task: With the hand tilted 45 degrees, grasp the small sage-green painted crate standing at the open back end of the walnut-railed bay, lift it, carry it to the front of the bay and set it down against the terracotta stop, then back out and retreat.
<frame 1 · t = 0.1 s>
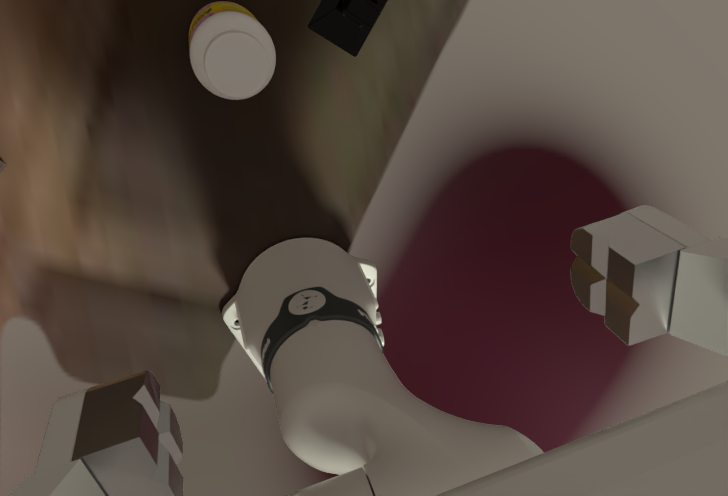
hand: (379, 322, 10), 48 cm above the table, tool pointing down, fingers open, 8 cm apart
supplement bottle: (225, 39, 52), on the table
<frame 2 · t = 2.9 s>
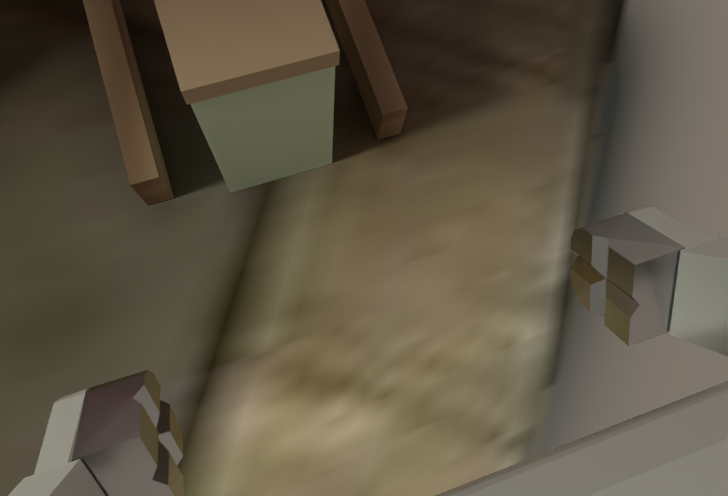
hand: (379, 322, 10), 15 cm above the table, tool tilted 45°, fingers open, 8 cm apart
crate: (266, 131, 27), on the table
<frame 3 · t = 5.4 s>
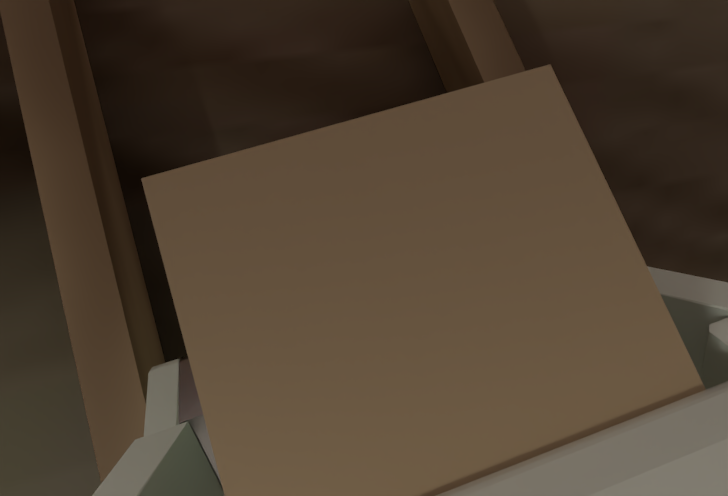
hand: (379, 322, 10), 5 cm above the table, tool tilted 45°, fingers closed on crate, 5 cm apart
crate: (369, 369, 15), on the table, touching gripper
bay: (272, 81, 17), on the table
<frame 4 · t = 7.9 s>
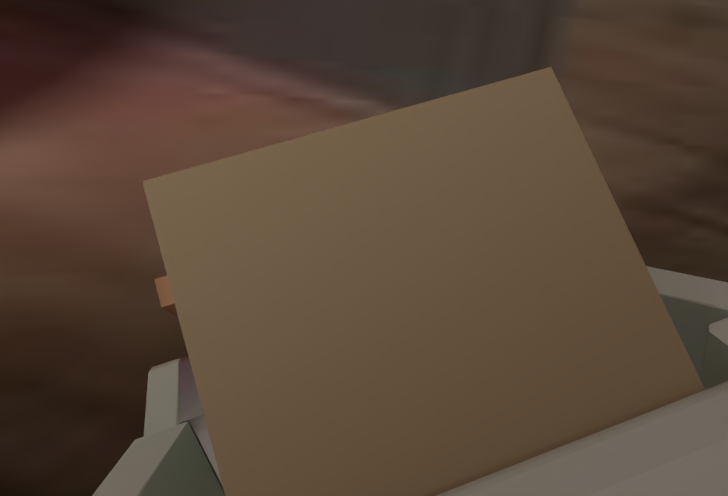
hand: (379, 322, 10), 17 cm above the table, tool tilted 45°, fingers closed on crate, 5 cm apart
crate: (370, 370, 15), point 12 cm above the table, touching gripper
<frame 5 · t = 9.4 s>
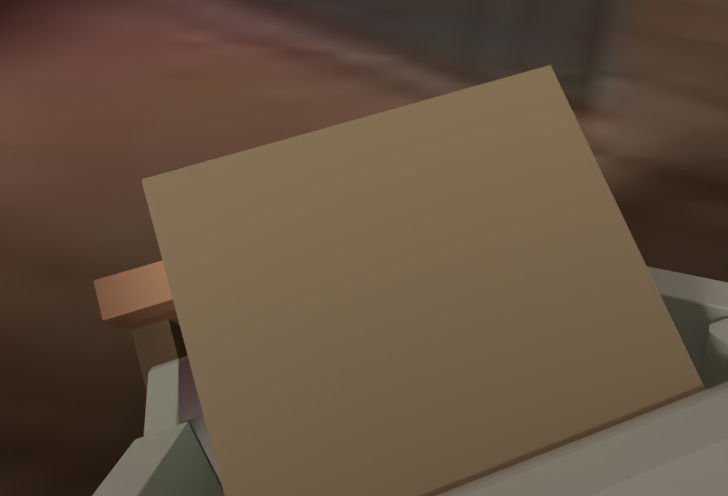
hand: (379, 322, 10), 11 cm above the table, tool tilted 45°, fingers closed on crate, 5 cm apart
crate: (370, 369, 15), point 6 cm above the table, touching gripper
when the fingers open (6 cm above the table, at t = 10.8 s): crate stays where it is, on the table.
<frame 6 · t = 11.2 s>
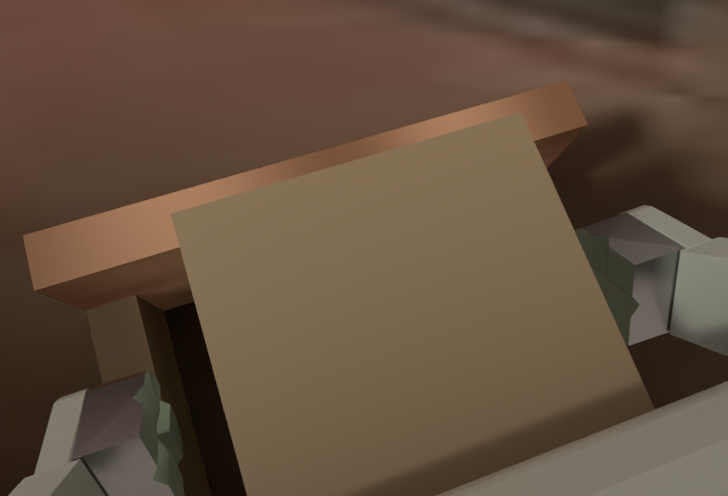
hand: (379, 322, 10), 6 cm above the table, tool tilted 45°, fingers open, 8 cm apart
crate: (367, 372, 16), on the table
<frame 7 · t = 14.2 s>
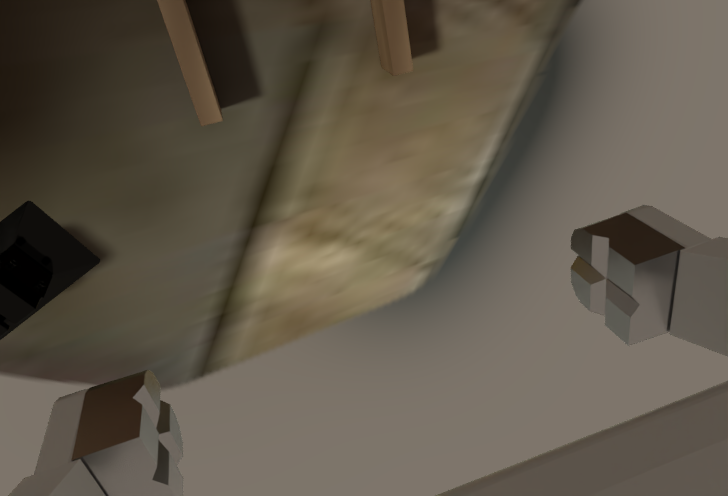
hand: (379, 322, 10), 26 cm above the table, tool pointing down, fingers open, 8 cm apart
black box: (13, 270, 35), on the table
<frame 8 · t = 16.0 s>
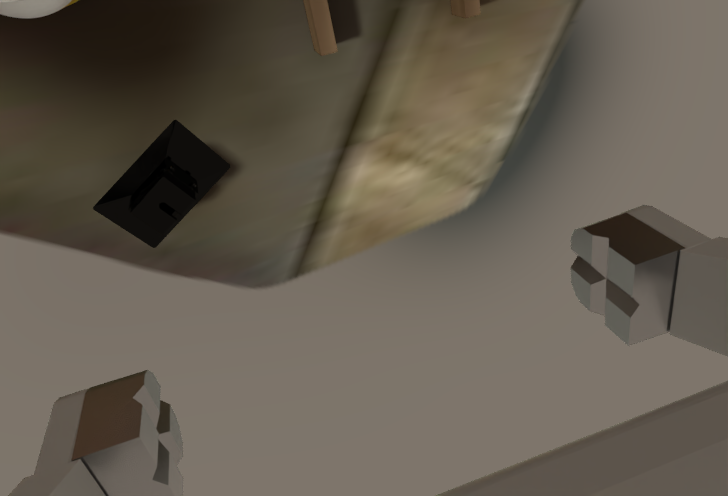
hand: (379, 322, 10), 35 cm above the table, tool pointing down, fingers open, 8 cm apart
black box: (164, 182, 44), on the table
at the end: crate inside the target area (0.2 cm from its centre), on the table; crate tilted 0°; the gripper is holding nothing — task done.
